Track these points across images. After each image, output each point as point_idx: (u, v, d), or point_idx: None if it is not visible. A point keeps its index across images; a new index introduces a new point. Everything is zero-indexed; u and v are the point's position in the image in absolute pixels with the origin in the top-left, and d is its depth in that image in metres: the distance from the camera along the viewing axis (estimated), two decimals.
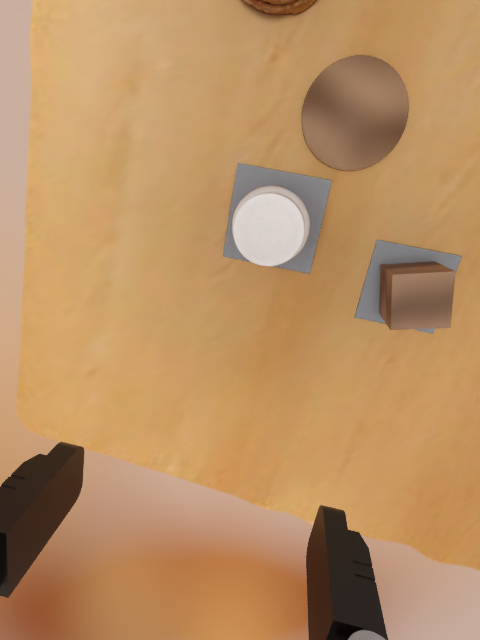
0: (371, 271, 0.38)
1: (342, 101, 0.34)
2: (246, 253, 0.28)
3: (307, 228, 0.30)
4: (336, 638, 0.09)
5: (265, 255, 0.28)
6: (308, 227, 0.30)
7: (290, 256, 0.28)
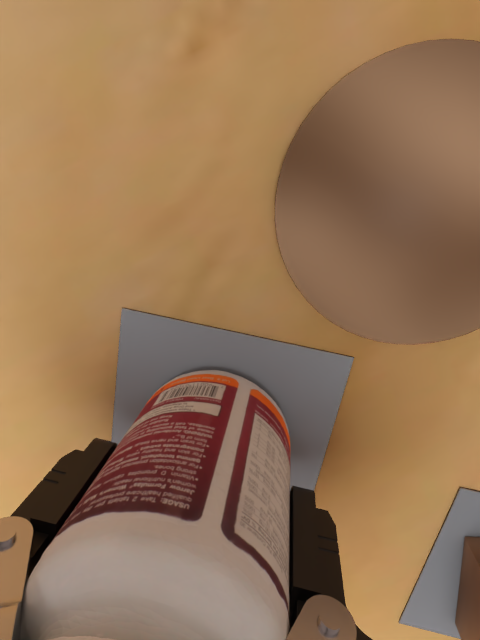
0: (442, 546, 0.17)
1: (388, 172, 0.12)
2: None
3: None
4: (297, 604, 0.10)
5: None
6: None
7: None
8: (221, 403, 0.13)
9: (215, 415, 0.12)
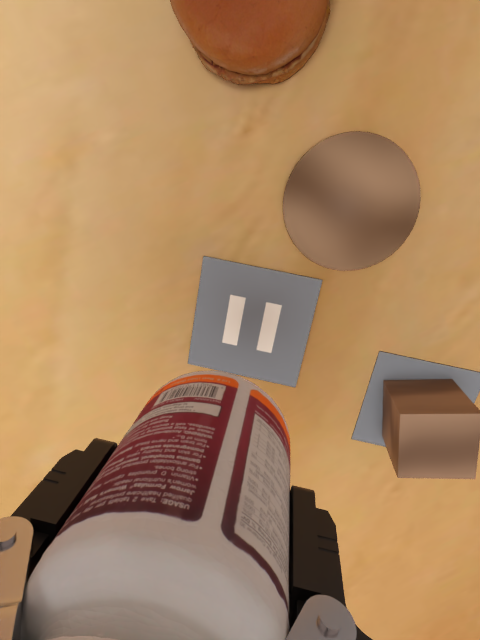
0: (372, 387, 0.31)
1: (334, 187, 0.26)
2: None
3: None
4: (297, 604, 0.10)
5: None
6: None
7: None
8: (221, 403, 0.13)
9: (215, 416, 0.12)
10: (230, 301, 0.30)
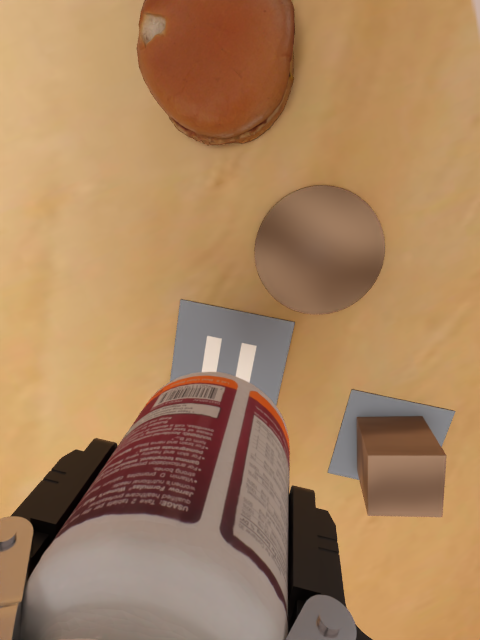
0: (346, 423, 0.32)
1: (303, 237, 0.27)
2: None
3: None
4: (297, 604, 0.10)
5: None
6: None
7: None
8: (220, 405, 0.13)
9: (214, 417, 0.12)
10: (207, 342, 0.31)
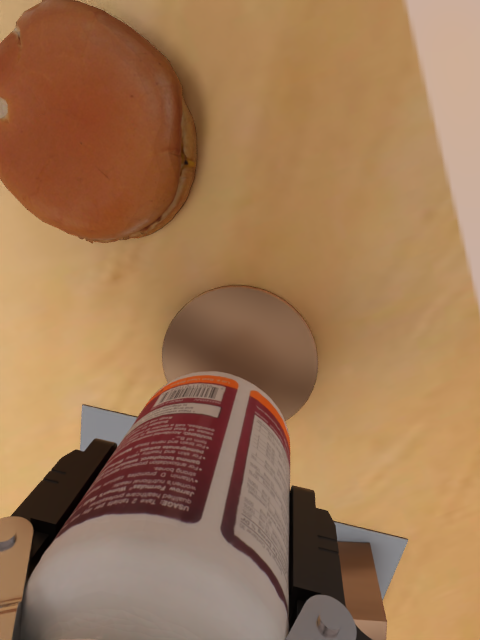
0: None
1: (219, 345, 0.22)
2: None
3: None
4: (297, 604, 0.10)
5: None
6: None
7: None
8: (221, 405, 0.13)
9: (215, 416, 0.12)
10: None
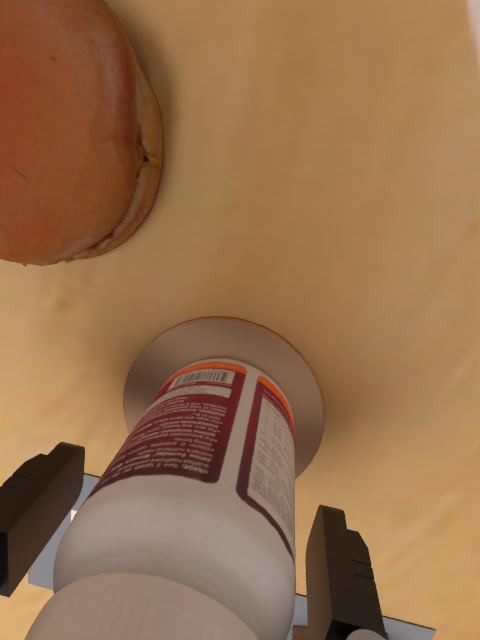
0: None
1: None
2: None
3: (286, 626, 0.09)
4: (335, 638, 0.09)
5: None
6: (290, 617, 0.09)
7: None
8: (232, 387, 0.14)
9: (226, 397, 0.13)
10: (73, 516, 0.21)
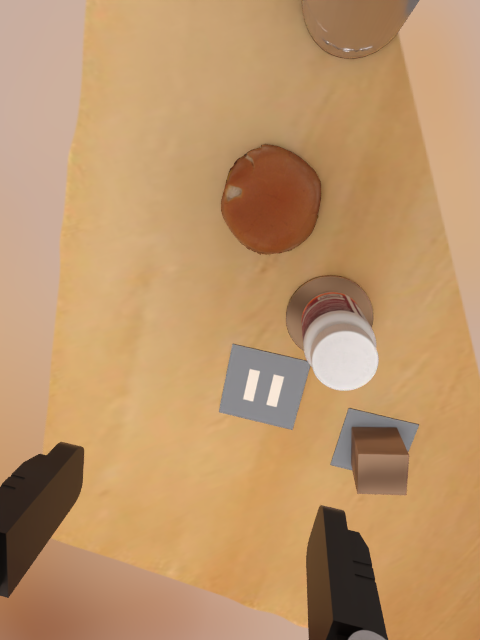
0: (344, 431, 0.45)
1: None
2: (323, 379, 0.31)
3: None
4: (336, 639, 0.09)
5: (340, 381, 0.31)
6: None
7: (363, 384, 0.31)
8: (344, 298, 0.38)
9: (344, 300, 0.37)
10: (249, 373, 0.45)
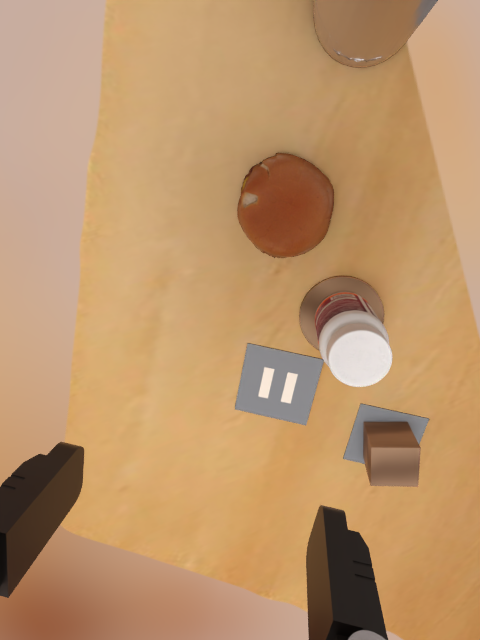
0: (356, 426, 0.47)
1: None
2: (339, 376, 0.33)
3: None
4: (336, 639, 0.09)
5: (355, 378, 0.32)
6: None
7: (378, 380, 0.32)
8: (356, 298, 0.39)
9: (356, 299, 0.38)
10: (264, 371, 0.46)
